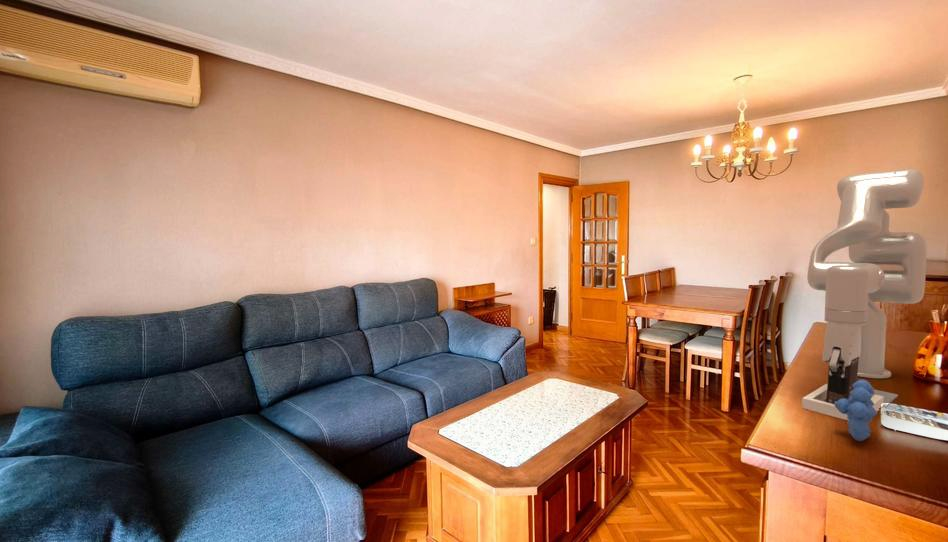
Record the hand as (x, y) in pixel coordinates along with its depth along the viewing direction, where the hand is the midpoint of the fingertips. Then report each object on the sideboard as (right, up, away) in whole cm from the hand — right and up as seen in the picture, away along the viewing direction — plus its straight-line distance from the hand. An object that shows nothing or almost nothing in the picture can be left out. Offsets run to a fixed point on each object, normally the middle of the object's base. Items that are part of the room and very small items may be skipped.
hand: (842, 388), depth 99 cm
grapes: (-9, -6, -13) cm, 17 cm away
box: (0, -4, 0) cm, 4 cm away
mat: (+13, -4, +9) cm, 16 cm away
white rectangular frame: (+1, -5, +1) cm, 5 cm away
